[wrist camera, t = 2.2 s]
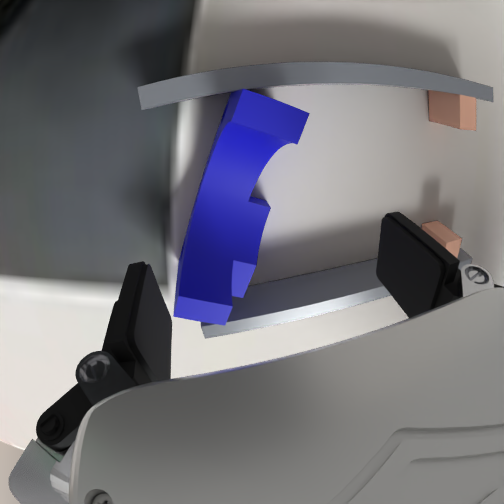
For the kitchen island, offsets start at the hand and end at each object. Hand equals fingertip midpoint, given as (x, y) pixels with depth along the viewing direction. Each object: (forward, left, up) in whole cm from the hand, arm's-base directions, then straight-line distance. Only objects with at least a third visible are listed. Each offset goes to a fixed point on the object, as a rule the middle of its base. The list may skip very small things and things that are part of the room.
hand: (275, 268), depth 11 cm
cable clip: (+1, 0, -9) cm, 9 cm away
